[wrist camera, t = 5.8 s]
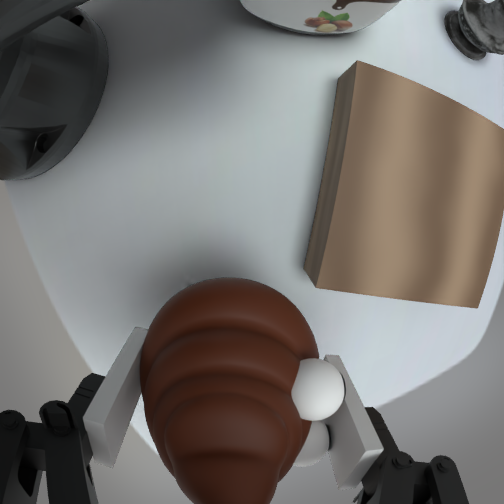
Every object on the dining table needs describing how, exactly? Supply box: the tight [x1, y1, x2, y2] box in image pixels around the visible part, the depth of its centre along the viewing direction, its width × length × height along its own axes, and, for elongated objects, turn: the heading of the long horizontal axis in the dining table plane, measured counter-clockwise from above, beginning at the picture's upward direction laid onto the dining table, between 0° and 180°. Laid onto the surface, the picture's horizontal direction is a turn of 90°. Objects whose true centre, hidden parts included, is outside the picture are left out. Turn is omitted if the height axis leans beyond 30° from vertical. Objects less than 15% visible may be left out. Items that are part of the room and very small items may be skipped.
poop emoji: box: [140, 278, 346, 504], centre depth 11 cm, size 10×8×9 cm
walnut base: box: [304, 60, 504, 308], centre depth 19 cm, size 14×14×4 cm
